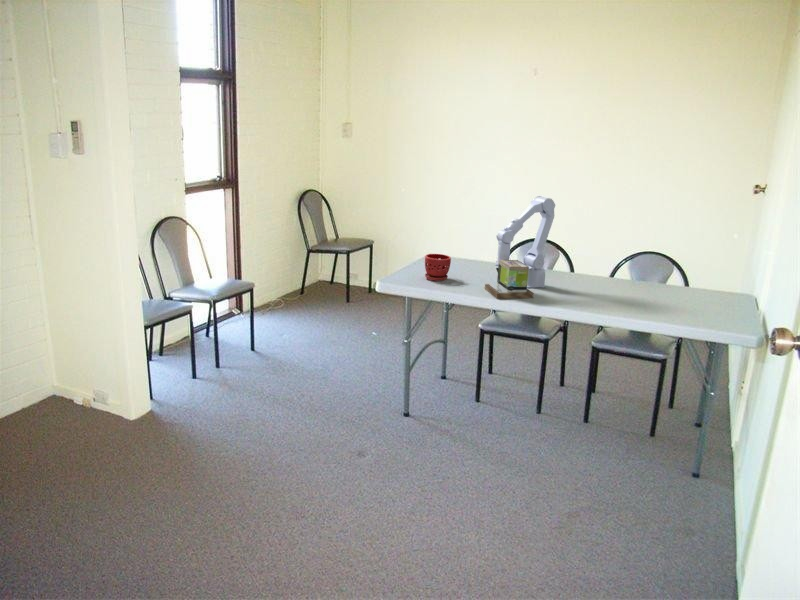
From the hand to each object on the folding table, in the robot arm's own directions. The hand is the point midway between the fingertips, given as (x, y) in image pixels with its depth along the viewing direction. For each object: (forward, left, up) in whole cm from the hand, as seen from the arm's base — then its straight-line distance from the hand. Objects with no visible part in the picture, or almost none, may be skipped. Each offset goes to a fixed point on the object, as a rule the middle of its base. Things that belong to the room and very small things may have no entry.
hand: (501, 282), depth 328 cm
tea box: (-2, +9, -3) cm, 10 cm away
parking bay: (0, +9, -3) cm, 9 cm away
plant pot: (+27, -21, -3) cm, 34 cm away
